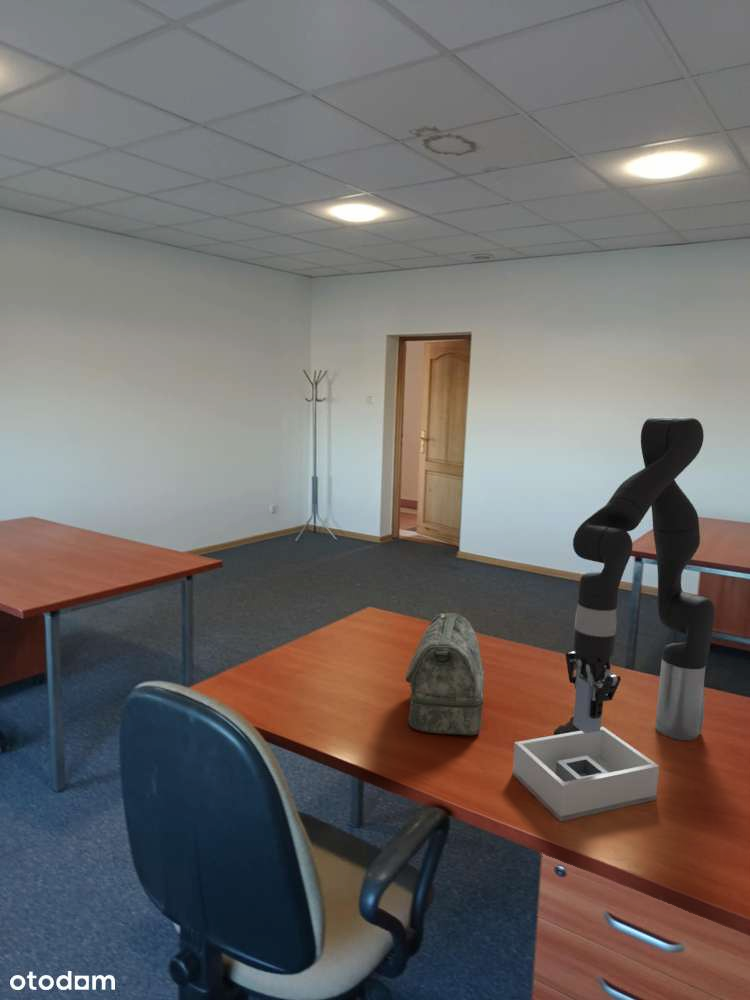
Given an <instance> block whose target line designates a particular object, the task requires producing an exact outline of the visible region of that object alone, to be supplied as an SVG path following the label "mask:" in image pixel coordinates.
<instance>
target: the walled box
mask: <svg viewBox="0 0 750 1000" xmlns="http://www.w3.org/2000/svg"><path fill="white" fill-rule="evenodd" d="M513 748H514V749H513V764H512V776H513V777H515V778H516V780H518V781H519V782H520V783H521V785H523V786H524V787H525V788H526V789H527V790H528V791H529V792H530V793H531V794H532V795H533V796H534V797H535V798H536V799H537V800H538V801H539V802H540V803H541V804H542V805H543V807H545V808H546V809H547V810H548V811H549V812H550V813H551V814H552V815H553V816H554V818H555V819H557V820H558V821H559V822H565V821H568V820H569V821H570V820H574V819H578V818H582V817H587V816H592V815H596V814H600V813H605V812H608V811H612V810H616V809H622V808H625V807H629V806H635V805H638V804H642V803H646V802H651V801H656V800H657V792H658V783H659V782H658V780H659V770H660V766H659V764H657V763H656V762H654V761H653V760H651V759H650V758H649V757H647V756H646V755H644V754H643V753H642V752H640V751H639V750H637V749H636V748H634V747H633V746H631V745H630V744H628V743H627V742H626V741H624V740H623V739H622V738H620V737H619V736H617V735H616V734H615V733H613V732H611V731H610V730H609V729H607V728H606V727H604V726H601V727H600V731H596V732H590V733H584V732H582V731H576V732H570V733H565V734H559V735H554V734H553V735H549V736H544V737H537V738H532V739H526V740H519V741H514V747H513Z"/></svg>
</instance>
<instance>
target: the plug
mask: <svg viewBox="0 0 750 1000" xmlns="http://www.w3.org/2000/svg"><path fill="white" fill-rule="evenodd" d="M594 683H595V684H596V683H601V682H600V681H596V682H594ZM599 691H600V688H597V694H599ZM574 696H575V698H574V700H575V701H574V708H573V709H574V711H573V717H574V720H573V725H574V726H576V727H577V728H578V729H580V730H581V731H582V732H584V733H590V732H596V731H600V727H602V726H601V725H602V715H603V714H602V715H601V717H600V718H596V719H592V718H591V717H590V704H591V688H590V684H589V683H588V678H586V677H583V676H582V677H577V684H576V689H575V695H574Z"/></svg>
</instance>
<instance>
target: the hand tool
mask: <svg viewBox="0 0 750 1000" xmlns="http://www.w3.org/2000/svg"><path fill="white" fill-rule="evenodd" d="M573 720H574V716H571V717H570V719H569V721H568V722H567V723H565V724H564V725H559V726H558V727H557V728H556V729H555V730H554V732H553V735H559V734H565V733H570V732H576V731H581V730H580V729H578V728H577V727H576V726H574V725H573Z"/></svg>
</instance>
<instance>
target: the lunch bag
mask: <svg viewBox="0 0 750 1000" xmlns="http://www.w3.org/2000/svg"><path fill="white" fill-rule="evenodd" d="M438 614H439V615H435V616H434V618H433V619H432V620H431V622H430V623H429V624H428V627H427V629H426V630H425V631H424V633H423V635H422V637H421V638H420V640H419V643H418V644H417V647H416V649H415V652H414V654H413V657H412V659H411V661H410V663H409V666H408V670H407V671H406V677H405V681H406V683H409V684H410V690H411V693H410V694H411V695H410V707H409V712H408V725H409V727H411V728H413V729H414V730H415V731H416V730H417V731H420V732H421V733H430V734H441V735H442V734H443V735H456V736H457V735H458V736H475V735H478V734H480V731H481V729H482V715H483V713H482V712H483V704H484V685H485V676H484V675H485V671H484V667H483V663H482V652H481V649H480V644H479V640H478V636H477V635H476V631H475V630H474V628H473V626H472V625H471V623H470V621H468V619H467V618H466V617H464V616H462V615H461V614H458V613H454V612H448V613H443V612H440V613H438Z"/></svg>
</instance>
